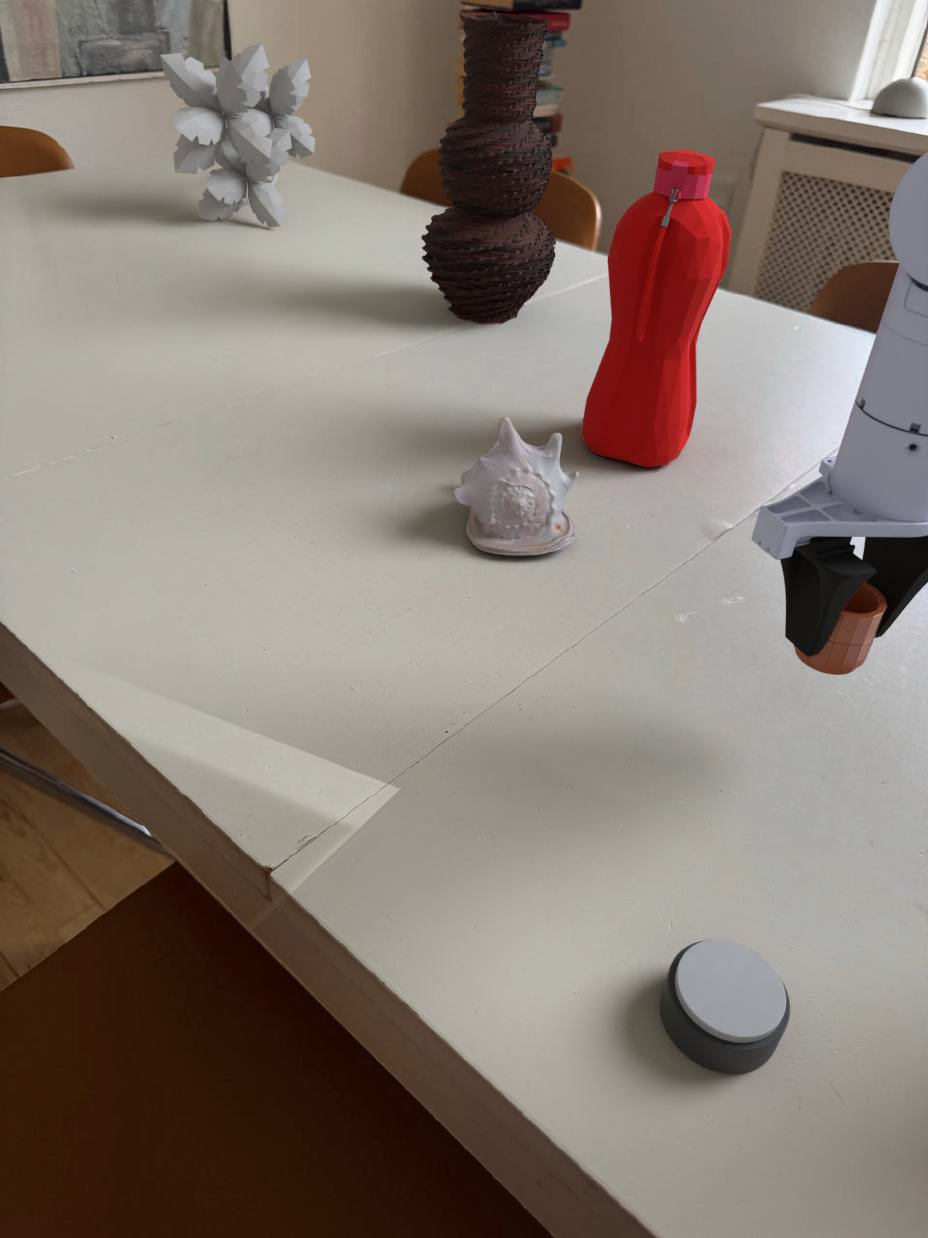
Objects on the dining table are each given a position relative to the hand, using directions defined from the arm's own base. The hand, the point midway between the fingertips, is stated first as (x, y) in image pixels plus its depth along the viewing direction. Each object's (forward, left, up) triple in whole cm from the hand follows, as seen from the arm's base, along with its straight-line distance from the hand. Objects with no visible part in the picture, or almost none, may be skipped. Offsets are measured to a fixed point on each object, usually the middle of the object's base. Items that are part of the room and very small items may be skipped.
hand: (834, 636), depth 54 cm
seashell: (+28, -10, -8) cm, 31 cm away
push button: (-3, +20, -8) cm, 22 cm away
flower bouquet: (+107, -59, -8) cm, 122 cm away
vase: (+56, -48, -8) cm, 74 cm away
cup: (0, 0, -1) cm, 1 cm away
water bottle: (+26, -28, -8) cm, 39 cm away
